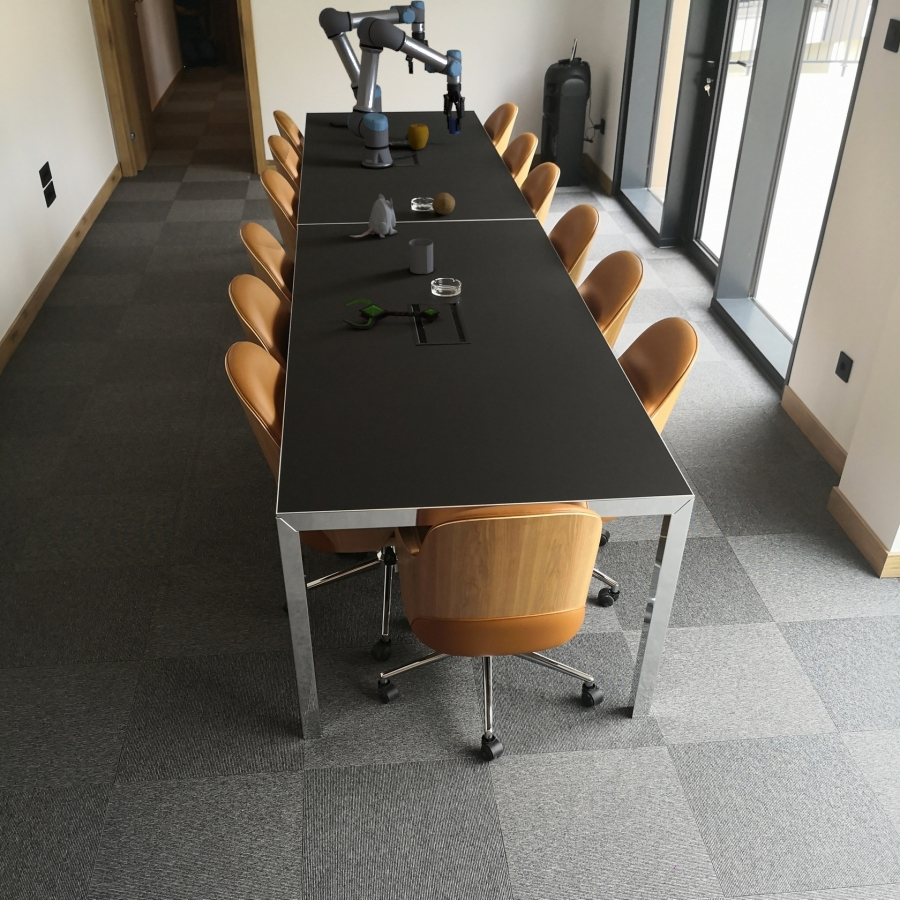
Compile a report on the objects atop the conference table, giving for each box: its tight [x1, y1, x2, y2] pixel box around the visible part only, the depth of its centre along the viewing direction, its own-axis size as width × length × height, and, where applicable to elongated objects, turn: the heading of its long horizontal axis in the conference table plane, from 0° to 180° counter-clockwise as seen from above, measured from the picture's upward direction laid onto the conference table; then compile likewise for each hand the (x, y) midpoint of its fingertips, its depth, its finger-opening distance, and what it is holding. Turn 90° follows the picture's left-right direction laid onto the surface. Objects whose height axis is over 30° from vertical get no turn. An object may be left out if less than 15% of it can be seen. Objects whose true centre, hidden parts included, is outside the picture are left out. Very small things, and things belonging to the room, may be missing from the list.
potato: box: [431, 192, 456, 216], centre depth 360 cm, size 10×14×8 cm
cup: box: [408, 237, 434, 275], centre depth 305 cm, size 8×8×10 cm
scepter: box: [342, 297, 441, 330], centre depth 270 cm, size 6×13×30 cm
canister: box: [448, 117, 461, 135], centre depth 456 cm, size 6×6×7 cm
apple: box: [407, 122, 429, 151], centre depth 451 cm, size 11×11×13 cm
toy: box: [350, 193, 398, 239], centre depth 333 cm, size 9×24×15 cm, turn 137°
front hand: (454, 129), depth 457 cm, fingers closed on canister, 6 cm apart
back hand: (418, 72), depth 498 cm, fingers open, 13 cm apart
